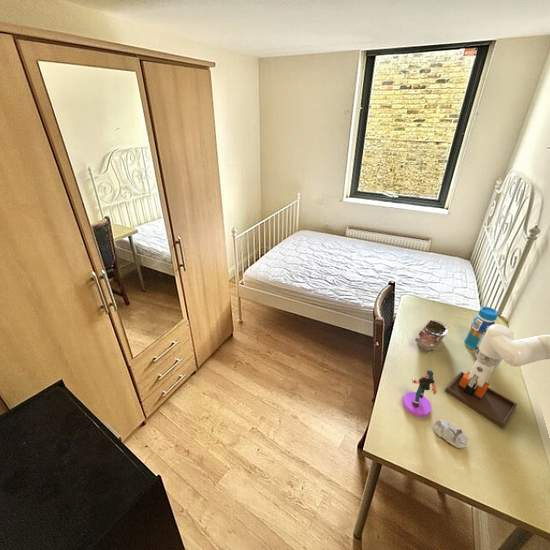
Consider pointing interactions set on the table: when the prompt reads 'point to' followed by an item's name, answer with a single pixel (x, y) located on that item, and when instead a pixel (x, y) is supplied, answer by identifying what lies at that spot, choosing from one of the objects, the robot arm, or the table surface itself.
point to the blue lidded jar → (480, 327)
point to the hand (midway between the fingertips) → (471, 389)
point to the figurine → (420, 396)
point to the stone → (450, 433)
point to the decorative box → (431, 335)
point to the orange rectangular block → (480, 390)
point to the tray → (484, 402)
